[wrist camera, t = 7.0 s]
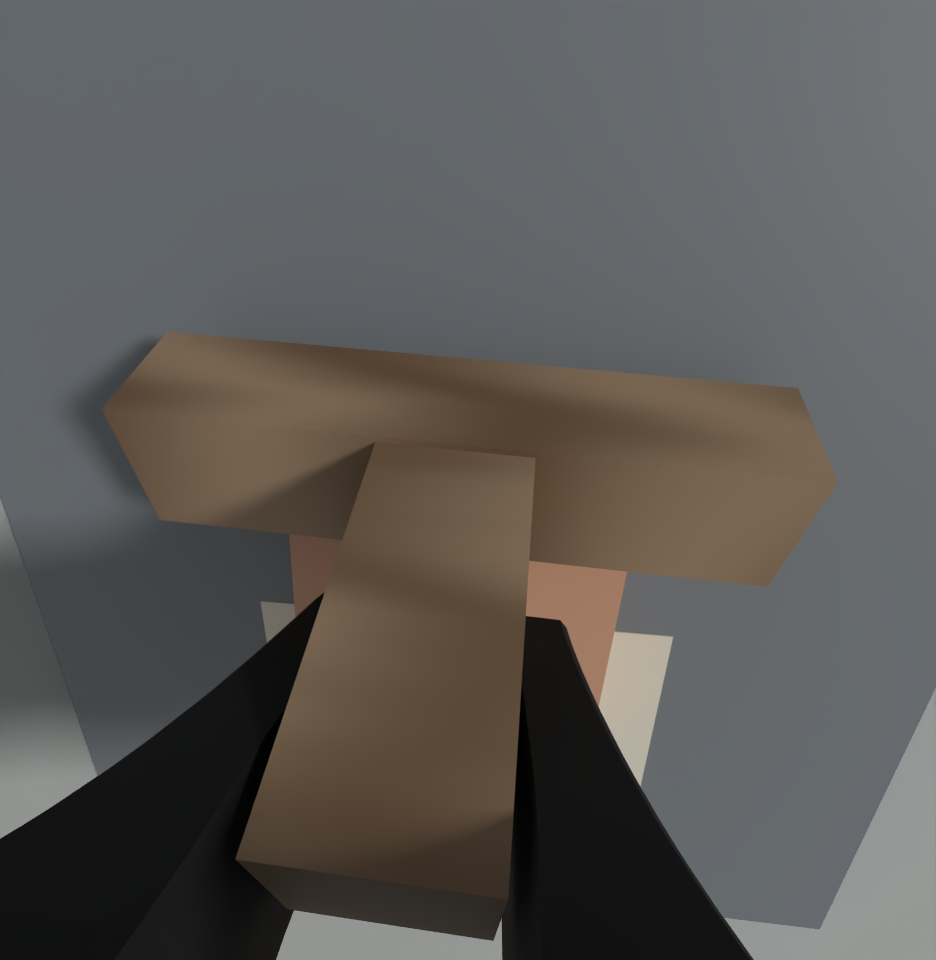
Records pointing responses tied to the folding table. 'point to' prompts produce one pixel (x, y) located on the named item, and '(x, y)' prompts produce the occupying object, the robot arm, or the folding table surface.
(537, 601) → the tile
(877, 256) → the slate board
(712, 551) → the brown t-shaped block
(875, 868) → the folding table surface
